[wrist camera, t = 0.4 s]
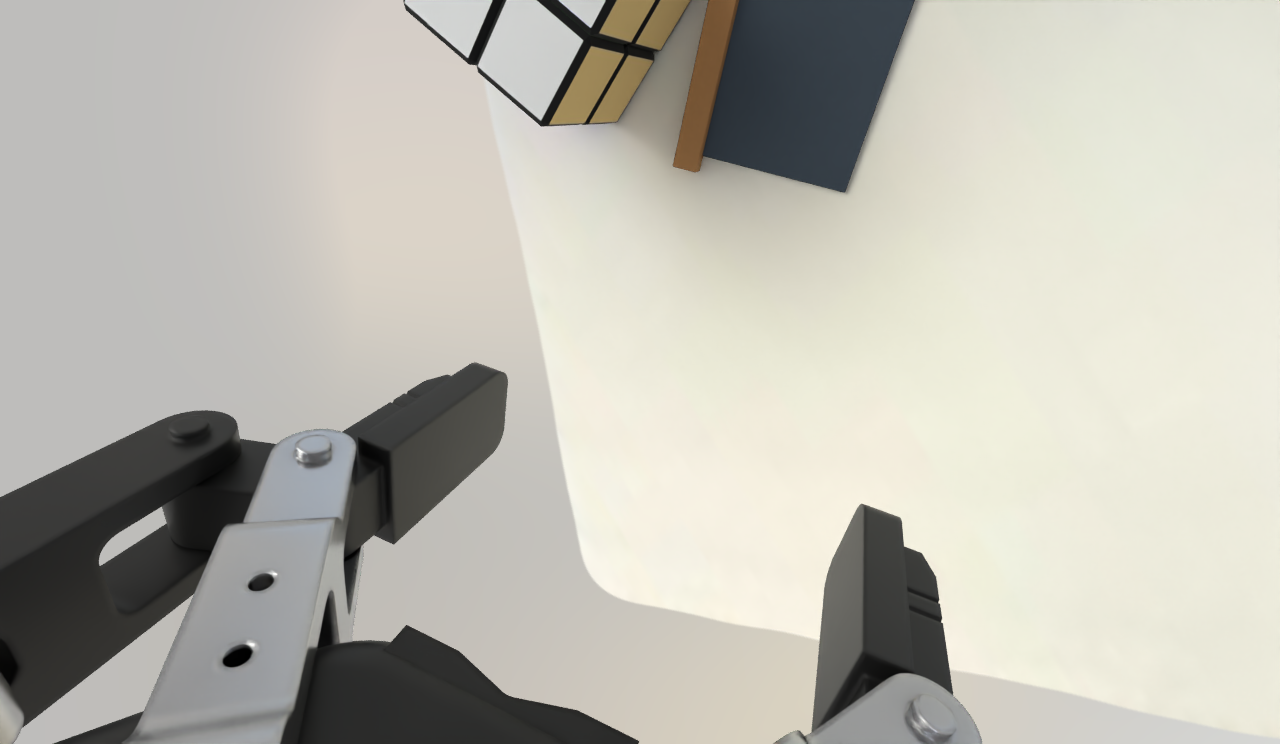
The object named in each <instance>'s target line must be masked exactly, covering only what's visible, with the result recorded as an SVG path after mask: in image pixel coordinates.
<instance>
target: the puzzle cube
mask: <svg viewBox="0 0 1280 744" xmlns="http://www.w3.org/2000/svg"><path fill="white" fill-rule="evenodd" d="M689 2H690V0H404V5H405V8H406V11H408V12H409V13H410V14H411V15H413V17H415V18H416V19H417V20H418V21H420V23H422V24H423V25H424V26H425V27H426V28H427V29H429V30H430V31H431V32H432V33H433V34H434V35H436V36H437V37H438V38H439V39H440V40H441V41H443V42H444V43H445V44H446V45H447V46H448V47H450V48H451V49H452V50H453V51H454V52H455V53H456V54H458V55H459V56H460V57H461V58H463V60H465V61H466V62H467V63H468V64H470V65H477V69H478V72H479V73H480V74H481V75H482V76H483V77H484V78H485V79H487V80H488V81H489V82H490V83H491V84H492V85H494V86H495V87H496V88H497V89H498V90H499V91H501V92H502V93H503V94H504V95H505V96H506V97H508V98H509V99H510V100H511V101H512V102H513V103H515V104H516V105H517V106H518V107H519V108H520V109H522V110H523V111H524V112H525V113H526V114H527V115H528V116H530V117H531V118H532V119H533V120H534V121H535V122H537V123H538V124H539V125H540V126H562V125H579V124H582V125H587V124H605V123H614V122H617V121H618V119H619V117H620V116H621V114H622V113H623V111H624V109H625V108H626V106H627V104H628V103H629V101H630V99H631V98H632V96H633V94H634V93H635V91H636V89H637V88H638V86H639V84H640V83H641V81H642V79H643V78H644V76H645V74H646V73H647V71H648V70H649V68H650V66H651V65H652V63H653V61H654V57H653V52H655V51H660V50H661V48H662V47H663V45H664V43H665V42H666V40H667V38H668V37H669V35H670V33H671V32H672V30H673V28H674V27H675V25H676V23H677V22H678V20H679V19H680V17H681V15H682V14H683V12H684V10H685V9H686V7H687V5H688V4H689Z"/></svg>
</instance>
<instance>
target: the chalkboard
mask: <svg viewBox="0 0 1280 744" xmlns="http://www.w3.org/2000/svg"><path fill="white" fill-rule="evenodd" d="M914 1H915V0H708V5H707V10H706V14H705V19H704V24H703V28H702V33H701V38H700V42H699V47H698V51H697V56H696V61H695V65H694V70H693V75H692V79H691V84H690V89H689V93H688V98H687V103H686V107H685V112H684V116H683V121H682V126H681V130H680V135H679V140H678V144H677V149H676V154H675V158H674V163H673V167H677V168H681V169H684V170H688V171H692V172H698V171H700V167H701V162H702V158H703V156H705V157H709V158H713V159H717V160H721V161H725V162H729V163H732V164H736V165H740V166H744V167H748V168H752V169H756V170H759V171H763V172H767V173H771V174H775V175H779V176H783V177H786V178H790V179H794V180H798V181H802V182H806V183H810V184H813V185H817V186H821V187H825V188H829V189H833V190H837V191H840V192H845V191H846V188H847V185H848V183H849V180H850V177H851V174H852V172H853V169H854V166H855V163H856V161H857V158H858V155H859V152H860V150H861V147H862V144H863V141H864V138H865V136H866V133H867V130H868V127H869V125H870V122H871V119H872V116H873V114H874V111H875V108H876V105H877V103H878V100H879V97H880V94H881V92H882V89H883V86H884V83H885V81H886V78H887V75H888V72H889V69H890V67H891V64H892V61H893V58H894V56H895V53H896V50H897V47H898V45H899V42H900V39H901V36H902V34H903V31H904V28H905V25H906V23H907V20H908V17H909V14H910V12H911V9H912V6H913V3H914Z"/></svg>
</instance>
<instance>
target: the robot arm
mask: <svg viewBox="0 0 1280 744" xmlns="http://www.w3.org/2000/svg"><path fill="white" fill-rule="evenodd" d="M507 386H508V379H507V376H506V374H505V373H504V372H501V371H498V370H495V369H493V368H490V367H487V366H484V365H482V364H479V363H471V364H469V365H468V366H466V367H465V368H464V369H462V370H460V371H459V372H457V373H456V374H454V375H452V376H450V375H444V376H441V377H437V378H434V379H430V380H426V381H424V382H422V383H421V384H419V385H417V386H416V387H414V388H413V389H411V390H409V391H408V392H407V394H403V395H401V396H400V397H398V398H396V399H395V400H394V401H393V403H388V404H387V405H385V406H383V407H382V408H380V409H378V410H377V411H375V412H374V413H372V414H371V415H369V416H367V417H365V418H364V419H362V420H361V421H359V422H357V423H356V424H354V425H352V426H351V427H349V428H348V429H346V430H344V431H343V432H340V431H336V430H330V429H314V430H307V431H303V432H299V433H296V434H293V435H291V436H288V437H286V438H285V439H283V440H281V441H280V442H279V443H277V444H271V443H264V442H257V441H251V440H244V439H240V437H239V432H238V426H237V423H236V421H235V419H234V418H233V417H231V416H230V415H227V414H225V413H222V412H216V411H192V412H185V413H180V414H177V415H173V416H170V417H167V418H165V419H162V420H160V421H158V422H156V423H154V424H152V425H150V426H148V427H145V428H143V429H142V430H139V431H137V432H135V433H133V434H131V435H129V436H127V437H125V438H123V439H120V440H118V441H116V442H115V443H112V444H110V445H108V446H106V447H104V448H102V449H100V450H98V451H96V452H94V453H92V454H89V455H87V456H85V457H83V458H81V459H79V460H77V461H75V462H73V463H71V464H69V465H66V466H64V467H62V468H60V469H59V470H56V471H54V472H52V473H50V474H48V475H46V476H44V477H42V478H39V479H37V480H35V481H33V482H31V483H29V484H27V485H25V486H23V487H21V488H19V489H17V490H15V491H12V492H10V493H8V494H6V495H4V496H2V497H0V744H13V743H14V742H15V740H16V739H17V737H18V735H19V733H20V731H21V729H22V727H24V726H25V725H27V724H28V723H29V722H30V721H32V720H33V719H34V718H36V717H37V716H38V715H39V714H41V713H42V712H43V711H44V710H46V709H47V708H48V707H50V706H51V705H52V704H53V703H55V702H56V701H57V700H58V699H60V698H61V697H62V696H64V695H65V694H66V693H67V692H69V691H70V690H71V689H73V688H74V687H75V686H77V685H78V684H79V683H80V682H82V681H83V680H84V679H85V678H87V677H88V676H89V675H91V674H92V673H93V672H94V671H96V670H97V669H98V668H100V667H101V666H102V665H103V664H105V663H106V662H107V661H109V660H110V659H111V658H112V657H113V656H115V655H116V654H117V653H119V652H120V651H121V650H122V649H124V648H125V647H126V646H128V645H129V644H130V643H132V642H133V641H134V640H135V639H137V638H138V637H139V636H140V635H142V634H143V633H144V632H146V631H147V630H148V629H150V628H151V627H152V626H153V625H155V624H156V623H157V622H158V621H160V620H161V619H162V618H164V617H165V616H166V615H167V614H169V613H170V612H171V611H173V610H174V609H175V608H176V607H178V606H179V605H180V604H181V603H183V602H184V601H185V600H187V599H188V598H189V597H190V596H192V595H193V594H194V595H193V598H192V600H191V603H190V605H189V607H188V610H187V612H186V614H185V617H184V619H183V621H182V623H181V626H180V628H179V631H178V633H177V635H176V637H175V640H174V642H173V644H172V647H171V649H170V651H169V654H168V656H167V658H166V661H165V663H164V665H163V668H162V670H161V672H160V675H159V677H158V679H157V682H156V684H155V686H154V689H153V691H152V693H151V696H150V698H149V700H148V703H147V705H146V707H145V710H144V711H143V712H140V713H137V714H134V715H132V716H129V717H126V718H124V719H121V720H118V721H115V722H112V723H109V724H107V725H104V726H101V727H98V728H96V729H93V730H90V731H87V732H85V733H82V734H79V735H76V736H73V737H71V738H68V739H65V740H62V741H59V742H57V743H54V744H638V743H639V741H638V740H636V739H634V738H632V737H630V736H628V735H626V734H624V733H622V732H620V731H618V730H616V729H614V728H611V727H610V726H608V725H606V724H603V723H602V722H600V721H598V720H595V719H594V718H592V717H590V716H588V715H586V714H584V713H581V712H580V711H577V710H573V709H568V708H563V707H558V706H553V705H548V704H544V703H539V702H534V701H528V700H523V699H519V698H514V697H511V696H508V695H506V694H505V693H503V692H502V691H501V690H500V689H499V688H498V687H497V686H496V685H495V684H494V683H492V682H491V681H490V680H489V679H488V678H487V677H486V676H485V675H484V674H483V673H482V672H481V671H480V670H479V669H478V668H476V667H475V666H474V665H473V664H472V663H471V662H470V661H469V660H468V659H467V658H466V657H465V656H464V655H463V654H461V653H460V652H459V651H458V650H456V649H454V648H452V647H450V646H448V645H446V644H444V643H442V642H440V641H438V640H435V639H433V638H432V637H429V636H427V635H426V634H424V633H421V632H420V631H418V630H416V629H414V628H412V627H410V626H407V625H406V626H405V627H404V628H403V629H402V631H401V632H400V633H399V634H398V635H397V636H396V638H394V639H393V641H392V642H386V641H372V640H368V641H352V633H353V625H354V618H355V610H356V604H357V597H358V590H359V583H360V576H361V569H362V562H363V554H364V549H363V548H364V547H363V544H364V543H365V542H366V541H367V540H368V539H370V538H371V537H372V536H373V535H375V536H377V537H379V538H381V539H383V540H385V541H387V542H390V543H392V544H395V543H396V542H397V541H398V540H399V539H400V538H401V537H403V536H404V535H405V534H406V533H407V532H408V531H409V530H410V529H411V528H412V527H413V526H414V525H416V523H418V522H419V521H420V520H421V519H422V518H423V517H424V516H425V515H426V514H427V513H429V511H431V510H432V509H433V508H434V507H435V506H436V505H437V504H438V503H439V502H441V500H443V499H444V498H445V497H446V496H447V495H448V494H449V493H450V492H451V491H452V490H454V489H455V488H456V487H457V486H458V485H459V484H460V483H461V482H462V481H463V480H464V479H465V478H467V477H468V476H469V475H470V474H471V473H472V472H473V471H474V470H475V469H476V468H477V467H478V466H480V465H481V464H482V463H483V462H484V461H485V460H486V459H487V458H488V457H489V456H490V455H491V454H492V453H493V452H494V451H495V450H496V448H497V447H498V445H499V443H500V441H501V438H502V435H503V431H504V423H505V411H506V410H505V409H506V398H507ZM160 507H162V508H163V512H164V515H165V519H166V522H167V524H165V525H164V526H162V527H161V528H159V529H158V530H156V531H154V532H153V533H151V534H150V535H148V536H147V537H145V538H144V539H142V540H140V541H139V542H137V543H136V544H134V545H133V546H131V547H129V548H128V549H126V550H125V551H123V552H122V553H120V554H119V555H117V556H115V557H114V558H113V559H111V560H109V561H108V562H106V563H105V564H103V565H101V566H99V556H100V553H101V551H102V549H103V547H104V546H105V545H106V543H107V542H108V541H109V540H110V539H111V538H112V537H114V536H115V535H116V534H118V533H119V532H121V531H122V530H124V529H125V528H127V527H128V526H130V525H132V524H134V523H135V522H137V521H139V520H140V519H142V518H144V517H145V516H147V515H148V514H150V513H152V512H153V511H155V510H157V509H158V508H160ZM938 601H939V595H938V588H937V581H936V576H935V575H934V573H933V571H932V570H931V568H930V566H929V565H928V563H927V561H926V560H925V558H924V556H923V555H922V553H920V552H917V551H915V550H912V549H909V548H907V547H904V542H903V530H902V521H901V518H900V517H897V516H894V515H892V514H889V513H886V512H883V511H881V510H878V509H875V508H872V507H870V506H867V505H864V504H861V505H859V507H858V508H857V510H856V512H855V514H854V516H853V518H852V520H851V522H850V524H849V526H848V528H847V530H846V532H845V534H844V536H843V539H842V541H841V543H840V545H839V547H838V549H837V551H836V553H835V555H834V557H833V559H832V562H831V565H830V567H829V571H828V574H827V578H826V582H825V588H824V599H823V610H822V621H821V632H820V644H819V655H818V667H817V677H816V689H815V700H814V712H813V722H812V732H811V733H810V734H808V735H806V736H804V735H803V734H802V733H801V732H800V731H798V730H797V731H793V732H791V733H789V734H787V735H785V736H784V737H782V738H780V739H779V740H778V741H776V742H775V743H774V744H982V739H981V736H980V733H979V731H978V728H977V726H976V724H975V722H974V721H973V719H972V717H971V716H970V714H969V713H968V712H967V710H966V709H965V708H964V707H963V705H962V704H960V702H959V701H958V700H957V699H956V698H955V697H954V696H953V691H952V683H951V676H950V670H949V663H948V656H947V649H946V642H945V635H944V629H943V623H941V620H942V615H941V608H940V604H938Z"/></svg>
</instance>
